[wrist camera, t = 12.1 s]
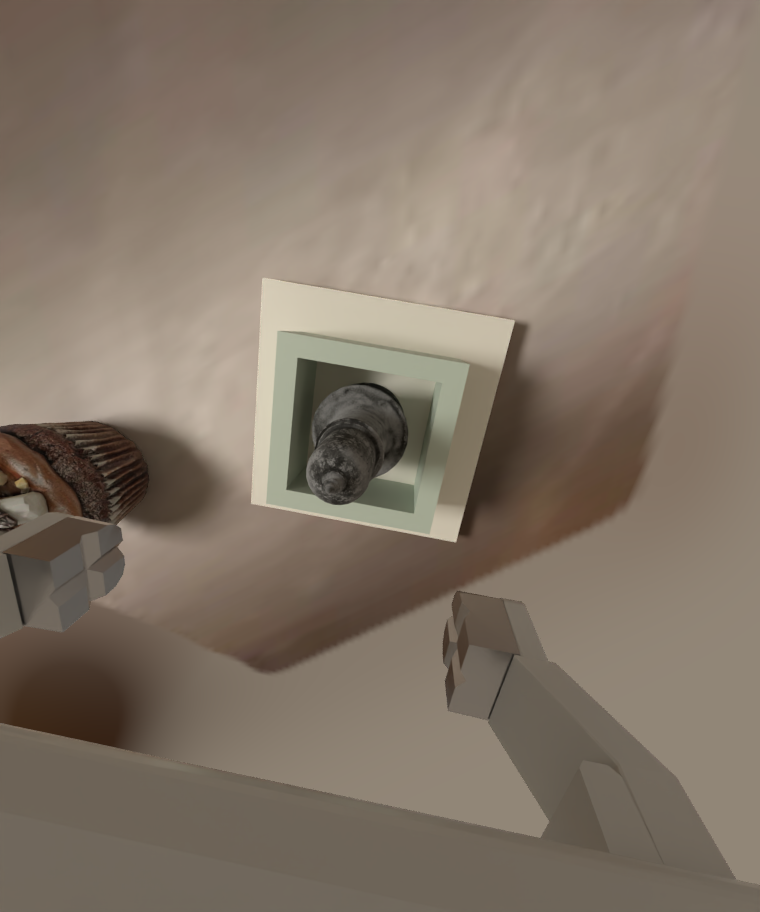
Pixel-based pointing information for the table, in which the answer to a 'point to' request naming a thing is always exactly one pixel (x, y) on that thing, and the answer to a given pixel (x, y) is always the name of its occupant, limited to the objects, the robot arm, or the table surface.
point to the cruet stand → (389, 365)
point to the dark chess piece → (355, 441)
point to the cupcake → (68, 472)
